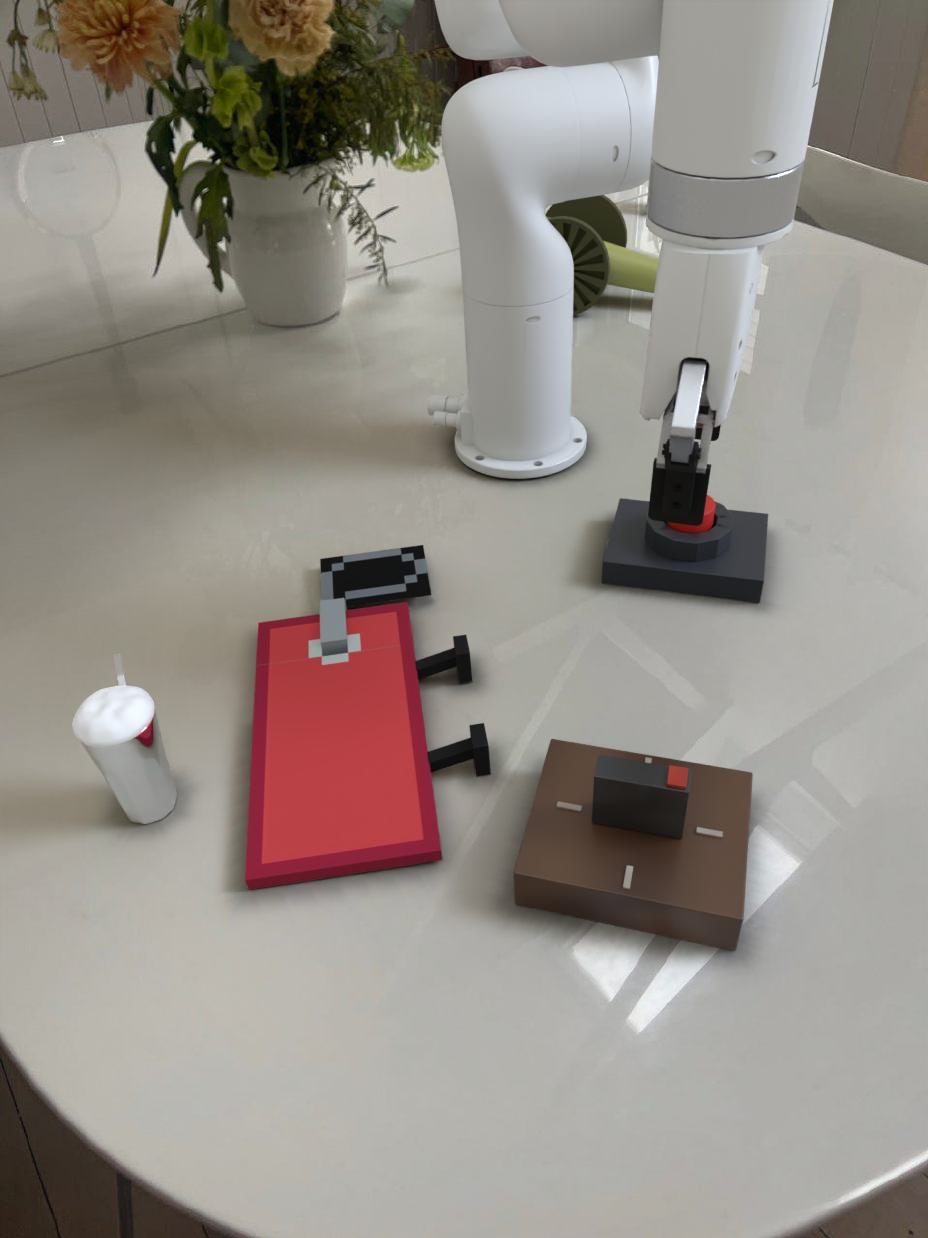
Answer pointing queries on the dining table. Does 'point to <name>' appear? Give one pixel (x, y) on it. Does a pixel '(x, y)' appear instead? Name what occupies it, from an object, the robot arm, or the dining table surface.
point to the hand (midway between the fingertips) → (685, 476)
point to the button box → (688, 554)
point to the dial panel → (637, 853)
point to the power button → (705, 524)
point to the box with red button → (641, 796)
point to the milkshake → (128, 748)
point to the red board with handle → (348, 729)
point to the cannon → (600, 249)
